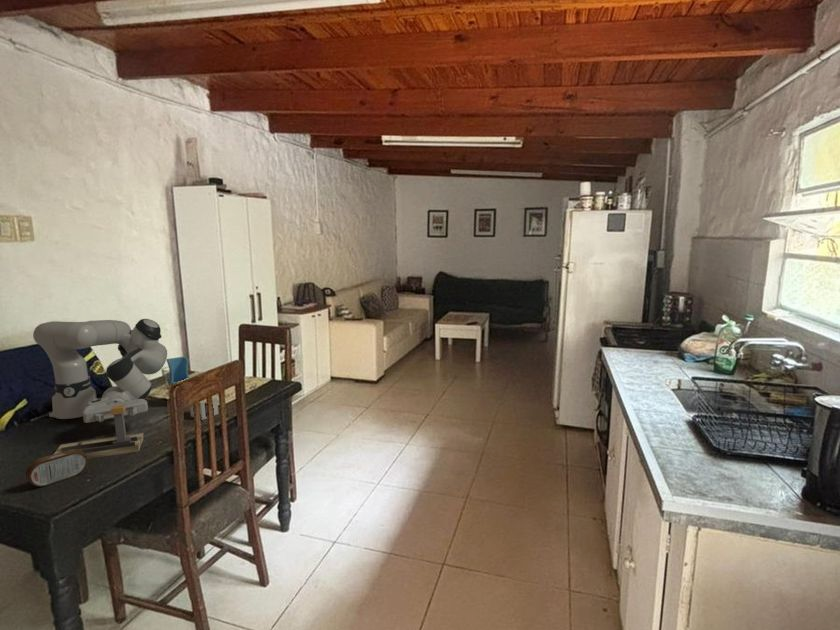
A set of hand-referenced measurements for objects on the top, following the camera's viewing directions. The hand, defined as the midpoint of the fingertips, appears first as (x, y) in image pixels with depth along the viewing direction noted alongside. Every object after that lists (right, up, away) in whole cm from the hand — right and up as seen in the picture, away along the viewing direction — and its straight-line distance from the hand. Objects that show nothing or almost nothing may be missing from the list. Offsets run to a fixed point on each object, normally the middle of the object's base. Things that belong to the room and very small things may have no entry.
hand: (117, 416), depth 170 cm
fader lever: (+6, -8, -7) cm, 12 cm away
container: (+20, -5, +25) cm, 32 cm away
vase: (+3, -3, +40) cm, 40 cm away
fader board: (-2, -10, -7) cm, 12 cm away
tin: (-1, -14, -26) cm, 30 cm away
